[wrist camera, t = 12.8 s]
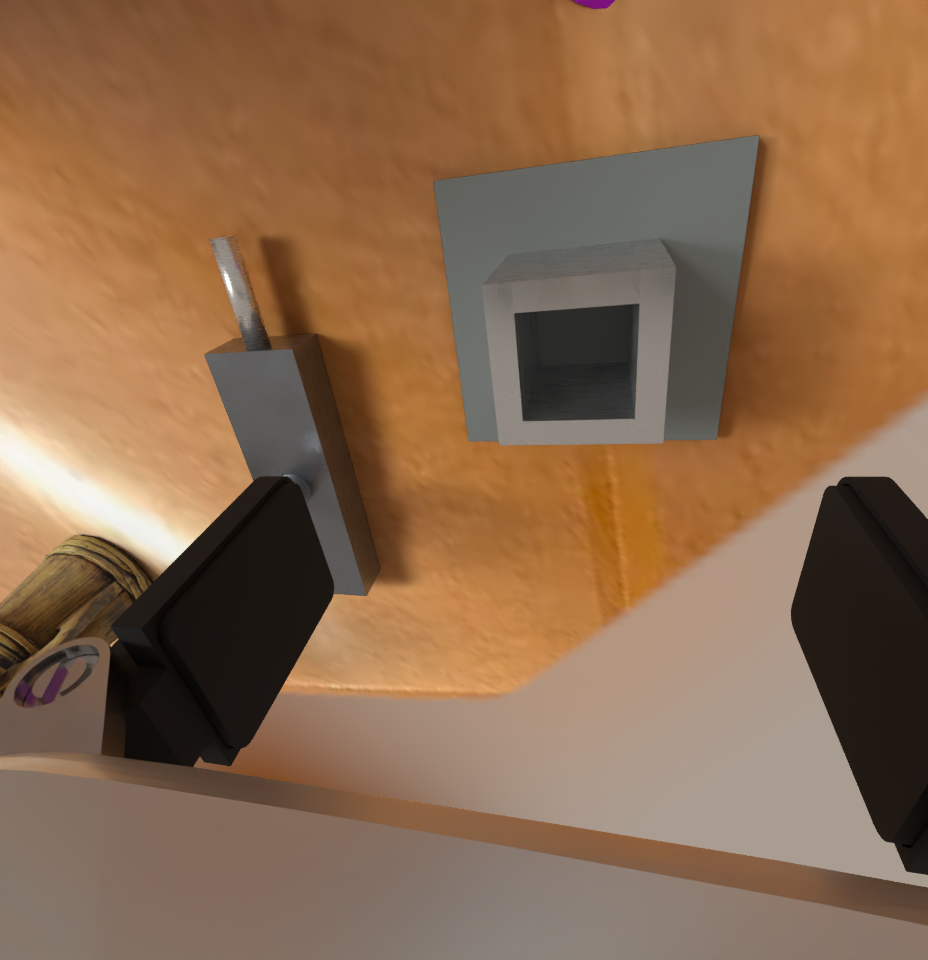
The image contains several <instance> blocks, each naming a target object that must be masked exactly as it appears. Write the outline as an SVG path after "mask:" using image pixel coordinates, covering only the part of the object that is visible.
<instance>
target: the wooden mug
mask: <svg viewBox="0 0 928 960" xmlns="http://www.w3.org/2000/svg"><path fill="white" fill-rule="evenodd" d="M151 584H152V581H151V580H150V578H149V577H148V575H147V574H146V572H145V571H144V570H143V569H142V568H140V567H139V565H138V564H137V563H136V561H135V560H133V559H132V558H131V557H130V556H128V555H127V554H126V553H125V552H123V551H122V550H120V549H118V548H117V547H115V546H113V545H112V544H110V543H108V542H105V541H103V540H101V539H99V538H96V537H88V536H78V535H75V536H73V537H71V538H69V539H67V540H66V541H64V542H63V543H61V544H60V545H59V546H58V547H56V548H55V549H54V550H53V551H51V552H50V553H49V554H48V555H46V557H45V558H44V560H43V562H42V564H41V565H40V566H39V567H37V568H36V569H35V570H34V571H33V572H32V573H31V574H30V575H29V576H28V577H27V578H26V579H25V580H24V581H23V582H22V583H21V584H20V585H19V586H18V587H17V588H16V589H14V590H13V591H12V592H11V593H10V594H9V595H8V596H7V597H6V598H5V599H4V600H3V601H2V602H1V603H0V702H1V698H2V696H3V694H4V692H5V690H6V688H7V686H8V685H9V683H10V682H11V681H12V680H13V679H14V678H15V676H16V675H17V674H18V673H19V672H20V671H21V670H22V669H24V668H25V667H26V666H27V665H28V664H29V663H31V662H32V661H33V660H35V659H36V658H38V657H39V656H41V655H42V654H44V653H45V652H47V651H49V650H51V649H53V648H55V647H57V646H59V645H61V644H63V643H66V642H69V641H72V640H75V639H79V638H87V637H95V638H101V639H103V640H104V641H106V642H107V643H108V644H109V645H110V644H111V643H112V642H114V641H115V640H116V639H117V638H118V637H117V636H116V634H115V633H114V632H113V630H112V629H111V627H110V626H111V625H112V624H113V623H114V622H115V621H116V620H117V619H118V618H119V617H120V616H121V615H122V614H123V613H124V612H125V611H126V610H127V609H128V608H129V607H130V605H131V604H132V603H133V602H134V601H135V600H136V599H137V598H138V597H139V596H140V595H141V594H142V593H143V592H144V591H145V590H146V589H147V588H148V587H149V586H150V585H151Z"/></svg>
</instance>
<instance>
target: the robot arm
mask: <svg viewBox="0 0 928 960" xmlns="http://www.w3.org/2000/svg"><path fill="white" fill-rule="evenodd" d="M333 594H334V581H333V578H332V575H331V572H330V570H329V567H328V564H327V561H326V558H325V555H324V552H323V550H322V547H321V544H320V541H319V538H318V535H317V532H316V529H315V527H314V524H313V521H312V518H311V515H310V512H309V509H308V506H307V504H306V501H305V498H304V495H303V492H302V490H301V488H300V486H299V485H298V484H295V483H294V482H293V481H292V479H291V478H289V477H287V476H262V477H258V478H257V479H255V480H254V481H253V482H252V483H251V484H250V485H249V486H248V487H247V488H246V489H245V491H244V492H243V493H242V494H241V495H240V496H239V497H238V498H237V499H236V500H235V501H234V502H233V503H232V504H231V505H230V506H229V507H228V508H227V509H226V510H225V511H224V512H223V513H222V514H221V515H220V516H219V517H218V518H217V519H216V520H215V521H214V522H213V523H212V524H211V525H210V526H209V527H208V528H207V529H206V530H205V531H204V532H203V533H202V534H201V535H200V536H199V537H198V538H197V539H196V540H195V541H194V542H193V543H192V544H191V545H190V546H189V547H188V548H187V549H186V550H185V551H184V552H183V553H182V554H181V555H180V556H179V557H178V558H177V559H176V560H175V561H174V562H173V563H172V564H171V565H170V566H169V567H168V568H167V569H166V570H165V571H164V572H163V573H162V574H161V575H160V576H159V577H158V578H157V579H156V580H155V581H154V582H153V583H152V584H151V585H150V586H149V587H148V588H147V589H146V590H145V591H144V592H143V593H142V594H141V595H140V596H139V597H138V598H137V599H136V600H135V601H134V602H133V603H132V604H131V605H130V607H129V608H128V609H127V610H126V611H125V612H124V613H123V614H122V615H121V616H120V617H119V618H118V619H117V620H116V621H115V622H114V623H113V624H112V625H111V626H110V627H111V629H112V630H113V632H114V633H115V634H116V636H117V637H118V639H119V640H118V641H117V642H116V643H115V644H114V645H113V646H112V647H110V645H109V644H108V643H107V642H106V641H104V640H103V639H101V638H95V637H87V638H79V639H75V640H72V641H69V642H66V643H63V644H61V645H59V646H57V647H55V648H53V649H51V650H49V651H47V652H45V653H44V654H42V655H41V656H39V657H38V658H36V659H35V660H33V661H32V662H31V663H29V664H28V665H27V666H26V667H25V668H24V669H22V670H21V671H20V672H19V673H18V674H17V675H16V676H15V678H14V679H13V680H12V681H11V682H10V683H9V685H8V686H7V688H6V690H5V692H4V694H3V696H2V698H1V702H0V960H928V888H927V887H921V886H916V885H910V884H905V883H899V882H894V881H888V880H882V879H877V878H871V877H866V876H860V875H855V874H849V873H844V872H838V871H833V870H827V869H822V868H816V867H810V866H805V865H799V864H794V863H788V862H782V861H777V860H771V859H765V858H759V857H753V856H747V855H741V854H734V853H728V852H722V851H716V850H710V849H704V848H698V847H691V846H686V845H680V844H674V843H667V842H662V841H655V840H649V839H643V838H637V837H631V836H625V835H619V834H613V833H606V832H601V831H594V830H588V829H582V828H576V827H570V826H564V825H558V824H552V823H545V822H539V821H532V820H527V819H520V818H514V817H508V816H502V815H495V814H489V813H483V812H477V811H470V810H464V809H458V808H452V807H445V806H439V805H432V804H426V803H420V802H414V801H408V800H401V799H395V798H389V797H381V796H376V795H370V794H363V793H357V792H351V791H344V790H338V789H331V788H325V787H318V786H312V785H306V784H299V783H292V782H286V781H279V780H273V779H266V778H260V777H253V776H246V775H240V774H234V773H227V772H221V771H214V770H208V769H201V768H194V767H193V766H194V764H195V763H196V761H197V760H198V758H199V757H201V758H202V760H203V761H204V762H207V763H213V764H220V765H226V766H231V765H232V763H233V761H234V759H235V758H236V756H237V754H238V753H239V751H240V749H241V748H244V747H246V746H247V745H248V744H249V743H250V742H251V740H252V739H253V737H254V736H255V734H256V732H257V730H258V729H259V727H260V725H261V723H262V721H263V720H264V718H265V716H266V714H267V713H268V711H269V709H270V707H271V706H272V704H273V702H274V700H275V699H276V697H277V695H278V693H279V691H280V690H281V688H282V686H283V684H284V683H285V681H286V679H287V677H288V676H289V674H290V672H291V670H292V669H293V667H294V665H295V663H296V662H297V660H298V658H299V656H300V654H301V653H302V651H303V649H304V647H305V646H306V644H307V642H308V640H309V639H310V637H311V635H312V633H313V632H314V630H315V628H316V626H317V624H318V623H319V621H320V619H321V617H322V616H323V614H324V612H325V610H326V609H327V607H328V605H329V603H330V602H331V600H332V597H333ZM791 620H792V625H793V628H794V631H795V634H796V636H797V639H798V641H799V643H800V646H801V648H802V651H803V653H804V655H805V658H806V660H807V663H808V665H809V668H810V670H811V673H812V675H813V677H814V680H815V682H816V685H817V687H818V690H819V692H820V695H821V697H822V699H823V702H824V704H825V707H826V709H827V712H828V714H829V716H830V719H831V721H832V724H833V726H834V729H835V731H836V734H837V736H838V738H839V741H840V743H841V746H842V748H843V751H844V753H845V756H846V758H847V760H848V763H849V765H850V768H851V770H852V773H853V775H854V777H855V780H856V782H857V785H858V787H859V790H860V792H861V795H862V797H863V799H864V802H865V804H866V807H867V809H868V812H869V814H870V816H871V819H872V821H873V824H874V826H875V828H876V830H877V832H878V834H879V835H880V836H881V838H882V839H883V840H885V841H886V842H892V843H894V844H895V846H896V848H897V851H898V853H899V855H900V858H901V860H902V862H903V865H904V867H905V869H906V871H907V872H913V873H919V874H926V875H928V519H927V518H926V517H925V516H924V514H923V513H922V512H921V511H920V510H919V509H918V508H917V507H916V505H915V504H914V503H913V502H912V501H911V500H910V499H909V497H907V495H906V494H905V493H904V492H903V491H902V490H901V489H900V487H899V486H898V485H897V484H896V483H895V482H894V481H893V480H892V479H891V478H889V477H844V478H842V479H841V480H840V481H839V483H838V485H837V486H829V487H827V488H826V490H825V492H824V494H823V498H822V501H821V505H820V508H819V512H818V515H817V519H816V523H815V526H814V530H813V533H812V537H811V540H810V544H809V547H808V550H807V554H806V558H805V561H804V565H803V568H802V572H801V575H800V579H799V582H798V586H797V589H796V593H795V597H794V600H793V603H792V608H791Z"/></svg>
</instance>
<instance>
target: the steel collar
mask: <svg viewBox="0 0 928 960" xmlns="http://www.w3.org/2000/svg"><path fill="white" fill-rule="evenodd" d="M675 275H676V266H675V264H674V262H673V261H672V259H671V257H670V255H669V254H668V252H667V250H666V249H665V247H664V245H663V244H662V242H661V240H660V238H653V239H643V240H634V241H625V242H616V243H606V244H597V245H588V246H579V247H569V248H560V249H551V250H542V251H532V252H523V253H514V254H509V255H508V256H507V257H506V258H505V259H504V260H503V261H502V263H501V264H500V265H499V266H498V267H497V268H496V269H495V270H494V271H493V273H492V274H491V275H490V276H489V277H488V278H487V279H486V280H485V282H484V283H483V284H482V294H483V303H484V312H485V321H486V330H487V339H488V348H489V357H490V367H491V376H492V385H493V394H494V403H495V412H496V421H497V430H498V439H499V445H571V444H659V443H663V439H664V425H665V412H666V398H667V384H668V371H669V357H670V343H671V330H672V316H673V302H674V288H675ZM626 304H631V305H630V337H629V361H626V362H606V363H586V364H567V365H547V366H539V350H538V333H537V316H536V311H549V310H562V309H575V308H588V307H601V306H613V305H626Z"/></svg>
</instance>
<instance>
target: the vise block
mask: <svg viewBox="0 0 928 960" xmlns="http://www.w3.org/2000/svg"><path fill="white" fill-rule="evenodd" d="M208 240H209V243H210V246H211V249H212V251H213V254H214V257H215V260H216V263H217V266H218V269H219V272H220V275H221V277H222V280H223V283H224V286H225V289H226V292H227V295H228V298H229V300H230V303H231V306H232V309H233V312H234V315H235V318H236V321H237V324H238V326H239V329H240V332H241V335H242V338H241V339H233V340H231V341H229V342H227V343H225V344H223V345H221V346H219V347H217V348H215V349H213V350H211V351H209V352H207V353H205V354H204V355H205V358H206V361H207V363H208V366H209V368H210V371H211V373H212V376H213V378H214V381H215V384H216V386H217V389H218V391H219V394H220V396H221V399H222V401H223V404H224V406H225V409H226V412H227V414H228V417H229V419H230V422H231V424H232V427H233V429H234V432H235V435H236V437H237V440H238V442H239V445H240V447H241V450H242V452H243V455H244V458H245V460H246V463H247V465H248V468H249V470H250V473H251V475H252V478H253V481H254V480H255V479H257V478H258V477H262V476H287V477H289V478H291V479H292V481H293V482H294V483H295V484H298V485H299V486H300V488H301V490H302V492H303V495H304V498H305V501H306V504H307V506H308V509H309V512H310V515H311V518H312V521H313V524H314V527H315V529H316V532H317V535H318V538H319V541H320V544H321V547H322V550H323V552H324V555H325V558H326V561H327V564H328V567H329V570H330V572H331V575H332V578H333V581H334V594H345V595H358V596H367V594H368V592H369V590H370V588H371V587H372V585H373V583H374V581H375V579H376V577H377V575H378V573H379V572H380V566H379V563H378V559H377V555H376V552H375V548H374V544H373V540H372V537H371V533H370V529H369V526H368V522H367V518H366V515H365V511H364V507H363V504H362V500H361V496H360V493H359V489H358V485H357V482H356V478H355V474H354V471H353V467H352V463H351V460H350V456H349V452H348V449H347V445H346V441H345V438H344V434H343V430H342V426H341V423H340V419H339V415H338V412H337V408H336V404H335V401H334V397H333V393H332V390H331V386H330V382H329V379H328V375H327V371H326V368H325V364H324V360H323V357H322V353H321V349H320V346H319V342H318V338H317V335H316V334H302V335H286V336H271V337H268V334H267V331H266V327H265V324H264V321H263V318H262V315H261V312H260V309H259V306H258V302H257V299H256V296H255V293H254V290H253V287H252V284H251V281H250V278H249V274H248V271H247V268H246V265H245V262H244V259H243V256H242V253H241V249H240V246H239V243H238V240H237V237H236V235H228V236H222V237H216V238H211V239H208Z"/></svg>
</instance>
